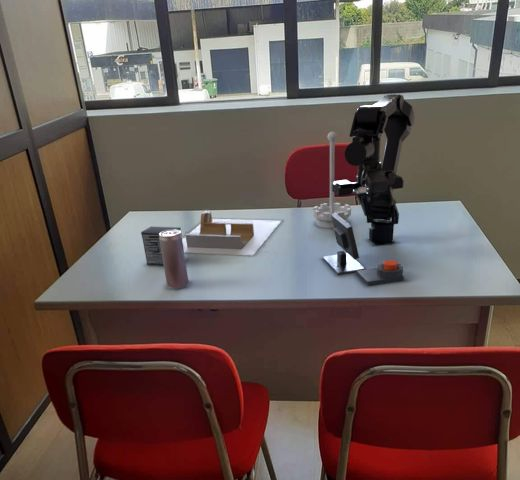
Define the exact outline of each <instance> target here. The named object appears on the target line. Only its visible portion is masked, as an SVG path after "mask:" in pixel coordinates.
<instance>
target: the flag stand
mask: <svg viewBox="0 0 520 480" xmlns="http://www.w3.org/2000/svg"><path fill="white" fill-rule="evenodd" d="M337 137H338V135H337V133H336V132H335V131H330V132H328V134H327V140H328V141H329V205H328V203H326V202H325V203H320V204H319V206H318V205H315V206H314V207H313V208H312V216H313V217H314V218H315V225H316V226H317V227H320V228H324V229H333V228H334V225H333V221H332V217H331V215H332V214H334V213H336V214H337V215H338V216H340V217H341V218H342V219H343V220H345V221H346V222H347V223H349V218H350V217H351V216H352V207H351V205H350V204H347V203H345V204H344V205H343V206H342V205H341V204H342V203H341V202H335V193H334V192H333V191H332V185H333V183H334V181H335V150H336V149H335V146H336V145H335V141H336V140H337Z"/></svg>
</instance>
